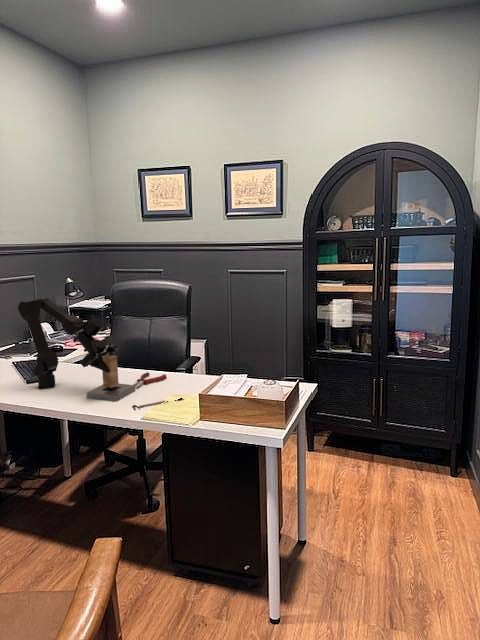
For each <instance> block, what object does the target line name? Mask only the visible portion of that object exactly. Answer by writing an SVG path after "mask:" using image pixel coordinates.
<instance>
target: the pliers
mask: <svg viewBox="0 0 480 640" xmlns="http://www.w3.org/2000/svg"><path fill="white" fill-rule="evenodd" d="M148 377H150V372H145V373H143V374H142V375H141V376H140V378H138V379H136V382H134V383H133V384H132V385H135V389H137V388H141V387H143V386H148V385H150V384H154V383H159V382H162V381H164V380H166V379H167V374H161V375H159V376H155V377H151V378H148Z"/></svg>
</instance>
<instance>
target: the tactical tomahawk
mask: <svg viewBox="0 0 480 640" xmlns="http://www.w3.org/2000/svg"><path fill="white" fill-rule="evenodd" d="M165 401H166V400H161V401H157V402H151V403H146V404H141V405H139V406H138V405H137V404H134V405H132V406H131V408H133V411H137V409H138V410H139V411H140V410H141V409H143V408H146V407H152V406H157V405H162V404H161V403H163V402H165ZM163 404H164V403H163Z"/></svg>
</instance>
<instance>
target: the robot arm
mask: <svg viewBox="0 0 480 640" xmlns="http://www.w3.org/2000/svg"><path fill="white" fill-rule="evenodd" d="M41 309H42V311H44V312H45V313H47V314H48V315H50V316H51V317H52V318H53V319H55V320H56V321H57V322H59V324H61V327H62V329H63V330H64V331H65V332H66V333H68V334H70V335H73V339H72V341H73V343H77V342H78V343H80V344H81V346H82V347H83V348H84V349H83V352H84V353H86V352H87V353H86V355H85V356H84V357H83V358H82V359H81V361H80V364H81V366H82V368H86V367H88V366H90V367H93V368H96V369H98V370H100V371H102V370H103V371H105V372H107V373H109V372H110V370H109V368H108V367H107V366H106V364H105V363H104V362H103V359H102V357H104V356H107V355H114V354H115V353H116V352H117V351H118V349H119V347H118V346H117V345H116V344H113V342H114V338H113V337H112V336H111V335H109V334H108V335H106V336H104V338H103V339H101V340H100V339H99V338H98V339H96V338H95V337H96V336H97V335H98V334H99V333H100V332H101V330H102V329H103V327H105V323H104V321H103V320H102V319H100V318H99V317H97V316H96V317H95V316H94V315H90V316H89V317H88V319H87V320H86V321H84V320H83V318H80V317H78V316H76V315H72V314H70V313H67V312H66V311H65V310H63V309H62V308H60V307H59V306H58V305H57V304H55V303H53V302H52V301H51V300H50V298H48V297H41V298H38V299H28V300H23V301H20V302H19V303H18V305H17V310H18V312H19V314H20V316H21V318H23V320H25V321H26V323H27V326H28V328H29V331H30V334H31V337H32V340H33V343H34V346H35V349H36V351H37V354H36V358H35V359H36V366H35V367H34V368H33V370H32V373H33V376H37V381H38V382H37V383H38V386H37V387H38V390H42V389H50V388H51V389H52V388H55V386H56V376H55V374H54V372H56V371H57V368H58V365H59V358H58V354H57V352H56V351H52V350H51V349H50V347H49V345H48V341H47V339H46V335H45V332H44V329H43V326H42V323H41V320H40V316H41ZM89 363H91V364H89Z"/></svg>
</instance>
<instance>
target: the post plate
mask: <svg viewBox="0 0 480 640" xmlns="http://www.w3.org/2000/svg"><path fill="white" fill-rule="evenodd" d="M134 392H136V388H135V385H133V384H127V383H126V384H125V383H119V384H118V385H116V386H114V387H112V388H111V387H103V384H101V385H99V386H97V387H95V388H91V390H88V391H87V392H86V398H87V399H91V400H92V399H93V400H100V401H109V402H118V401H119V400H122V399H124V398H125V397H127V396H129V395H131V394H132V393H134Z"/></svg>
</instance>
